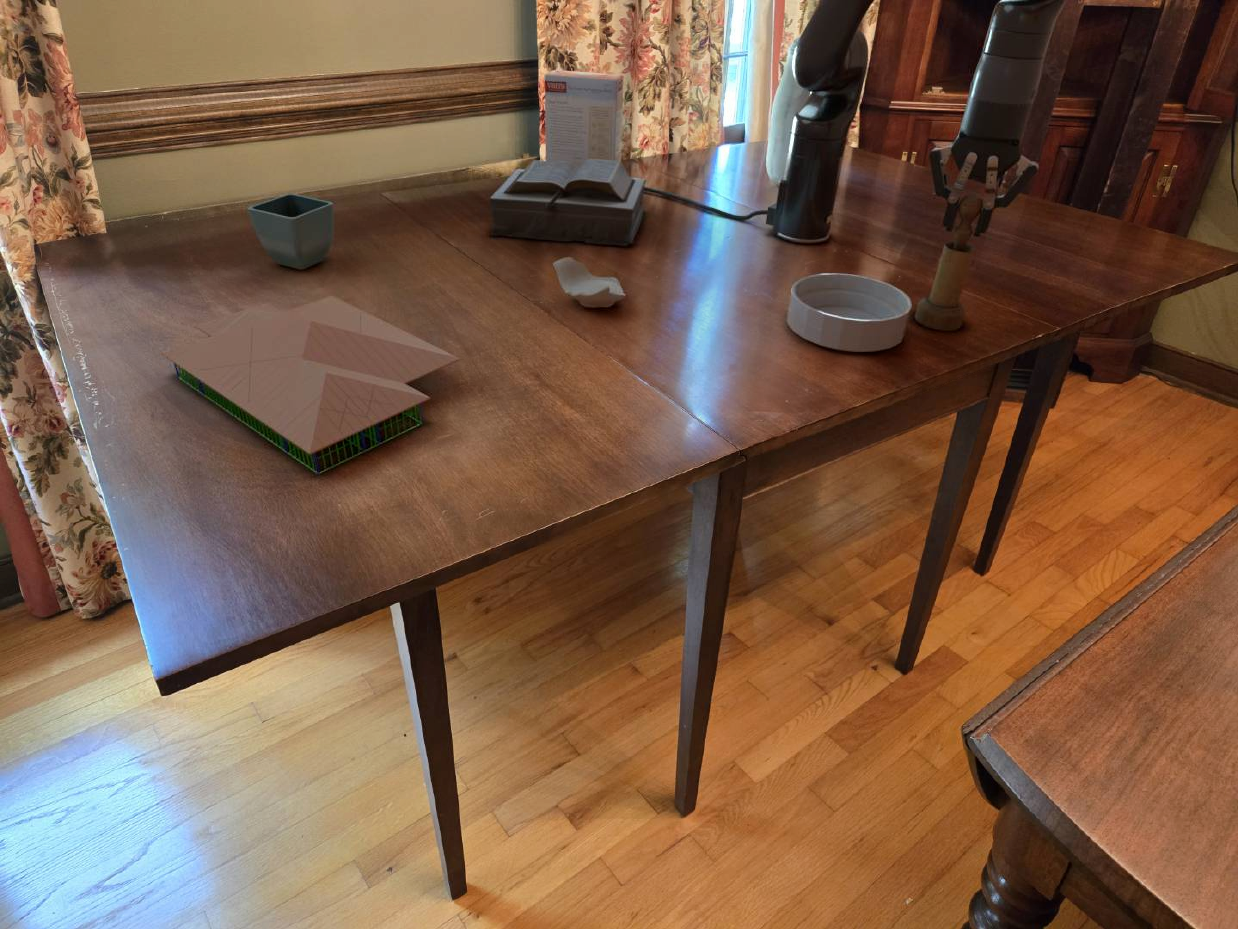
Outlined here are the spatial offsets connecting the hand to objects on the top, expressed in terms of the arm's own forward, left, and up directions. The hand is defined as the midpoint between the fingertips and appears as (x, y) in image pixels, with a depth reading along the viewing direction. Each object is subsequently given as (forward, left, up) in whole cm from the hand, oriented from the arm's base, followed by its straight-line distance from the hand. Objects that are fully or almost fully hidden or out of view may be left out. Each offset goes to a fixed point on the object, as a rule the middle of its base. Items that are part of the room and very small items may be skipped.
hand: (963, 231), depth 111 cm
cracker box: (-74, +26, -13) cm, 80 cm away
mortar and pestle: (0, 0, -13) cm, 13 cm away
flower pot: (-90, -33, -13) cm, 97 cm away
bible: (-65, +6, -13) cm, 67 cm away
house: (-61, -59, -13) cm, 86 cm away
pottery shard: (-45, -21, -13) cm, 51 cm away
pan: (-11, -10, -13) cm, 20 cm away
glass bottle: (-40, +52, -13) cm, 67 cm away
